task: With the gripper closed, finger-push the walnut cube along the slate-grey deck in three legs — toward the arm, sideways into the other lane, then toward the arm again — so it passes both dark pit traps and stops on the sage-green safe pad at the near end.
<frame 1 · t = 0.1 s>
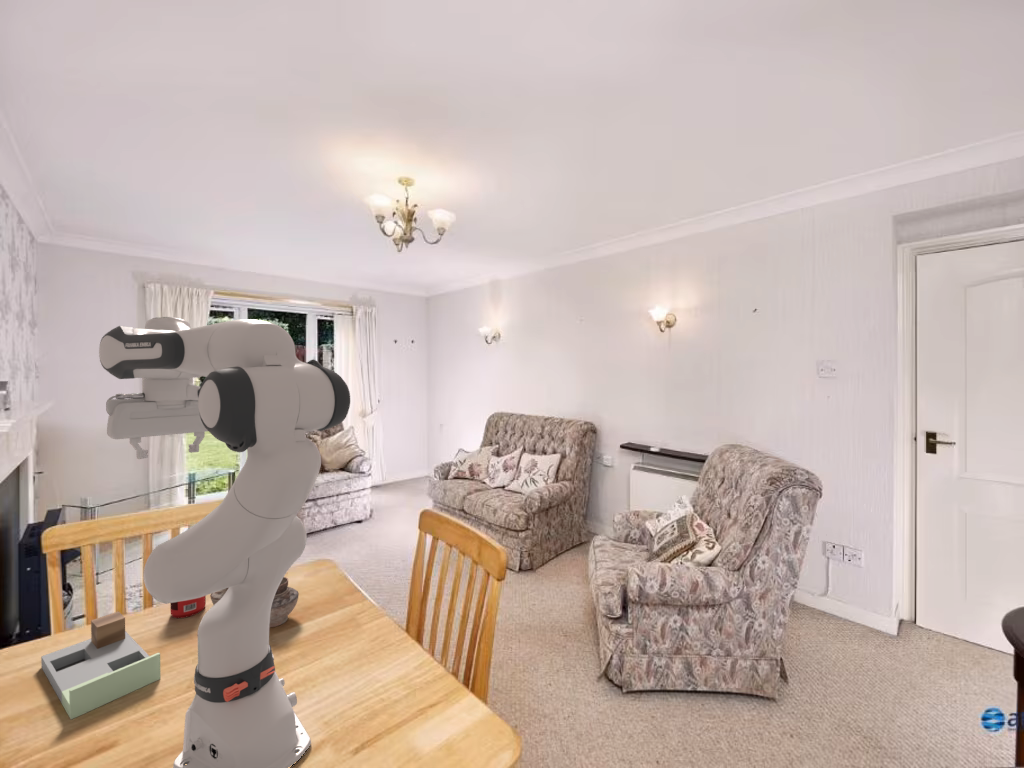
hand: (169, 455, 98), 48 cm above the table, fingers open, 8 cm apart
walnut block: (108, 639, 106), point 2 cm above the table, touching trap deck
pottery: (254, 618, 121), on the table
canned food: (188, 611, 124), on the table
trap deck: (99, 673, 98), on the table
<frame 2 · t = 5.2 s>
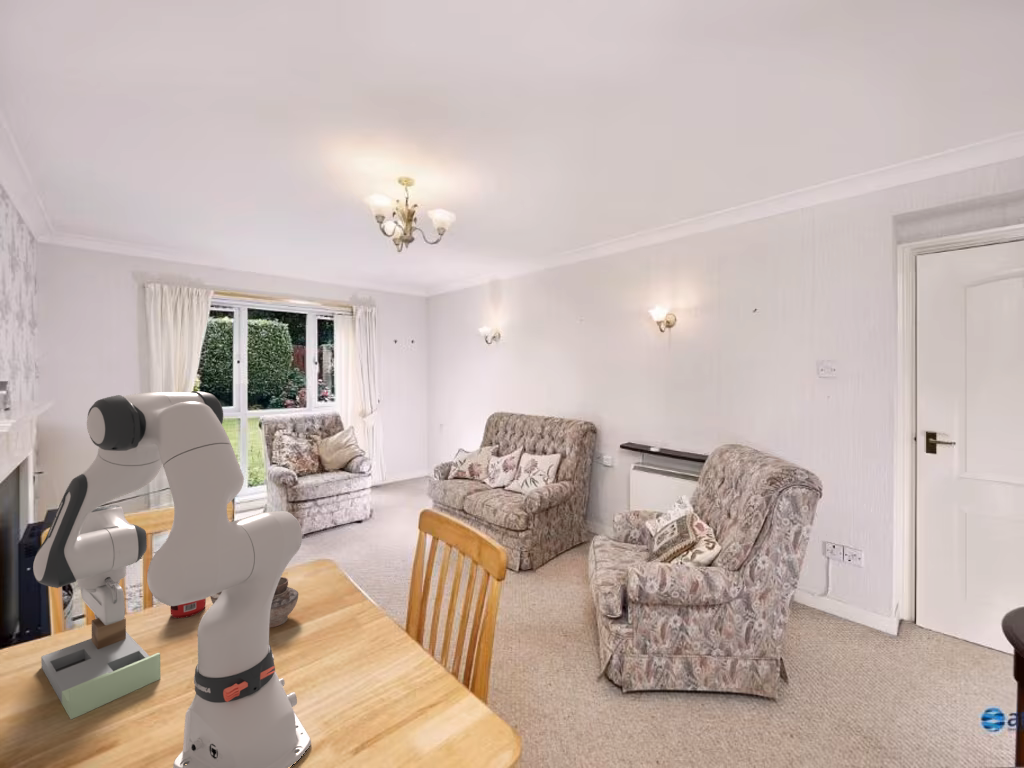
hand: (103, 628, 109), 4 cm above the table, fingers closed
walnut block: (108, 639, 106), point 3 cm above the table, touching gripper
everything else where it was.
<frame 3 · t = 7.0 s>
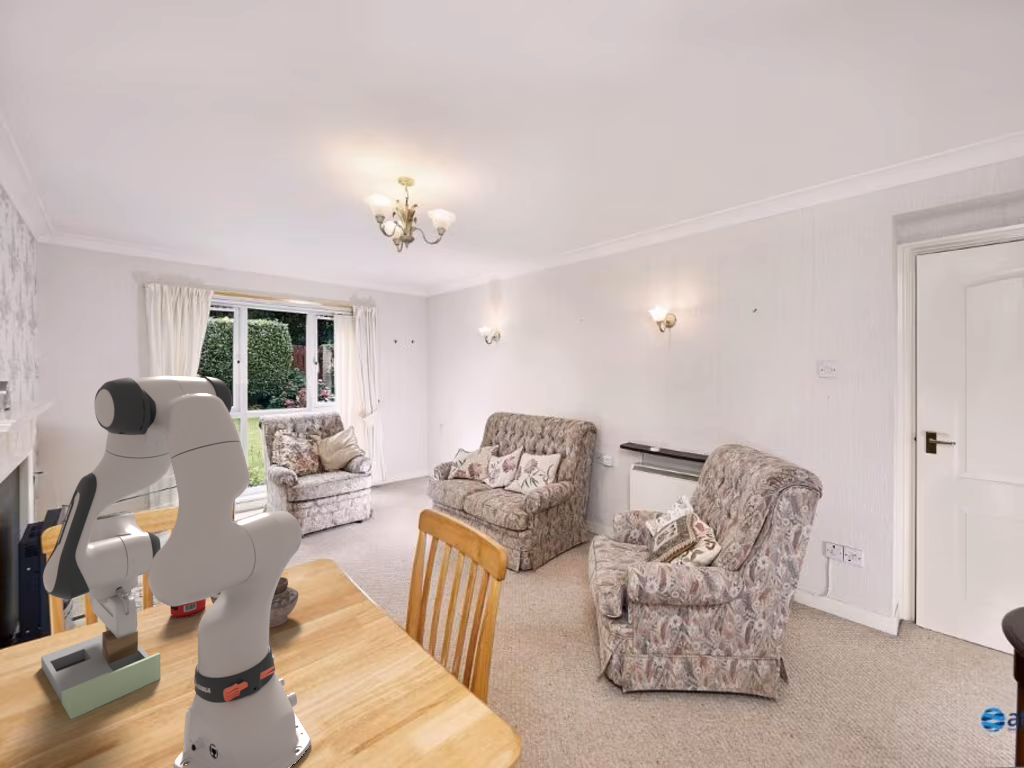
hand: (113, 641, 104), 4 cm above the table, fingers closed
walnut block: (120, 653, 101), point 3 cm above the table, touching gripper, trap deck
everything else where it was.
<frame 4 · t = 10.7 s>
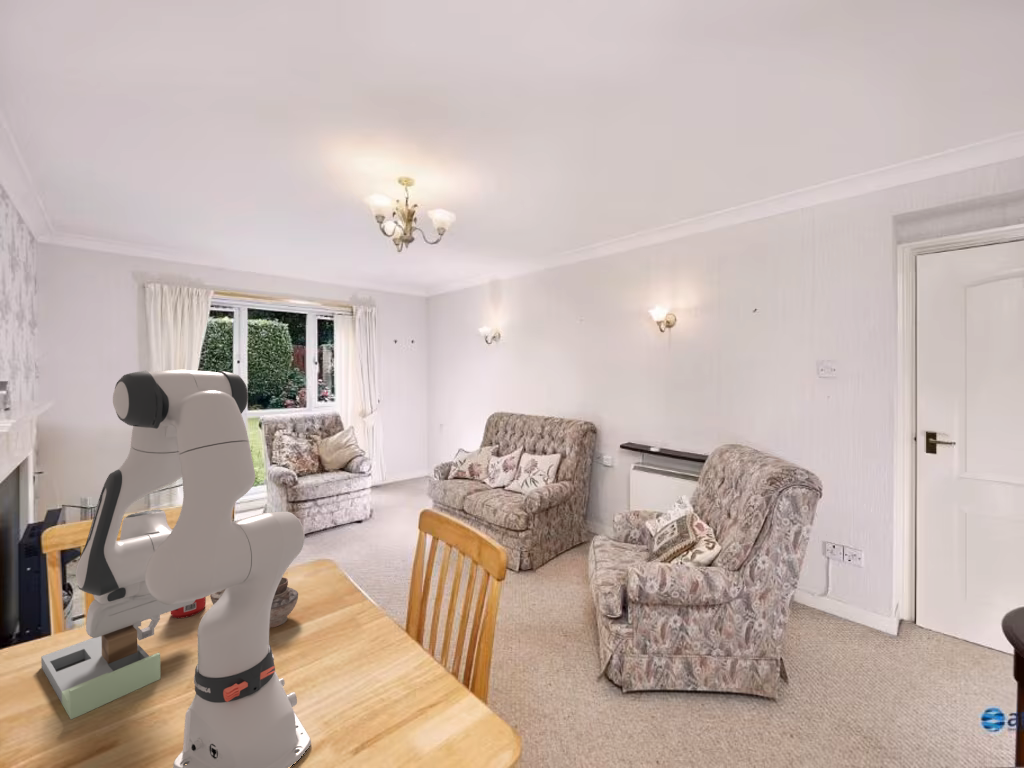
hand: (145, 636, 105), 4 cm above the table, fingers closed
walnut block: (119, 653, 101), point 3 cm above the table, touching gripper
everything else where it was.
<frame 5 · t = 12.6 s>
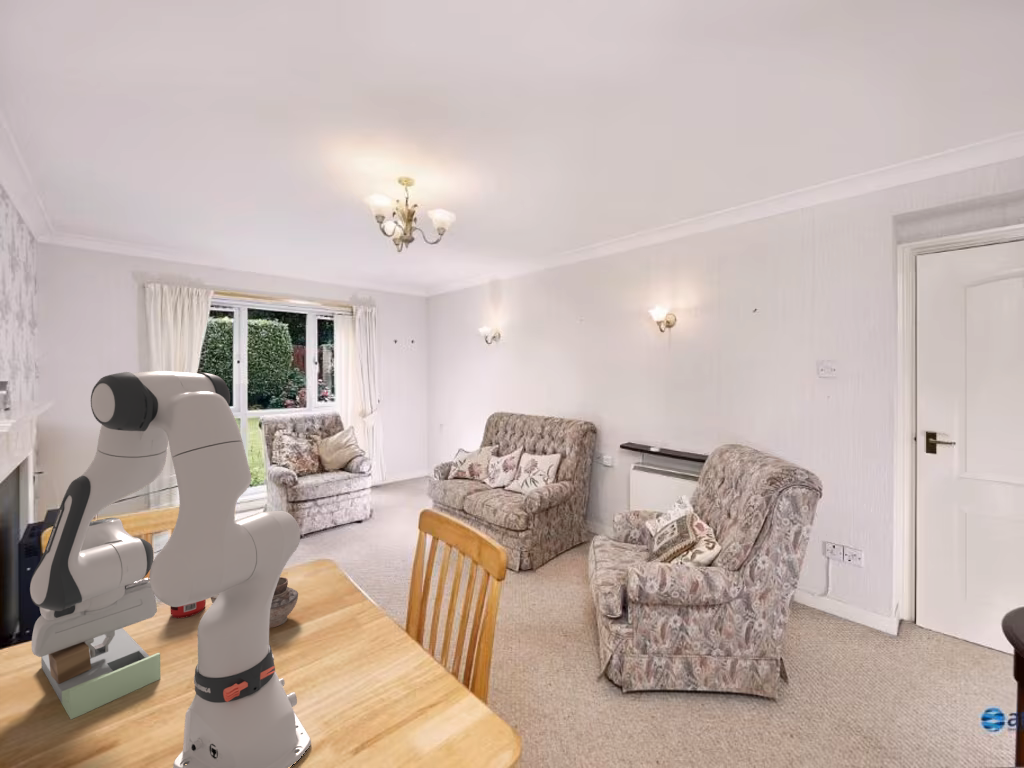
hand: (99, 654, 99), 4 cm above the table, fingers closed
walnut block: (71, 672, 94), point 3 cm above the table, touching gripper, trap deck
everything else where it was.
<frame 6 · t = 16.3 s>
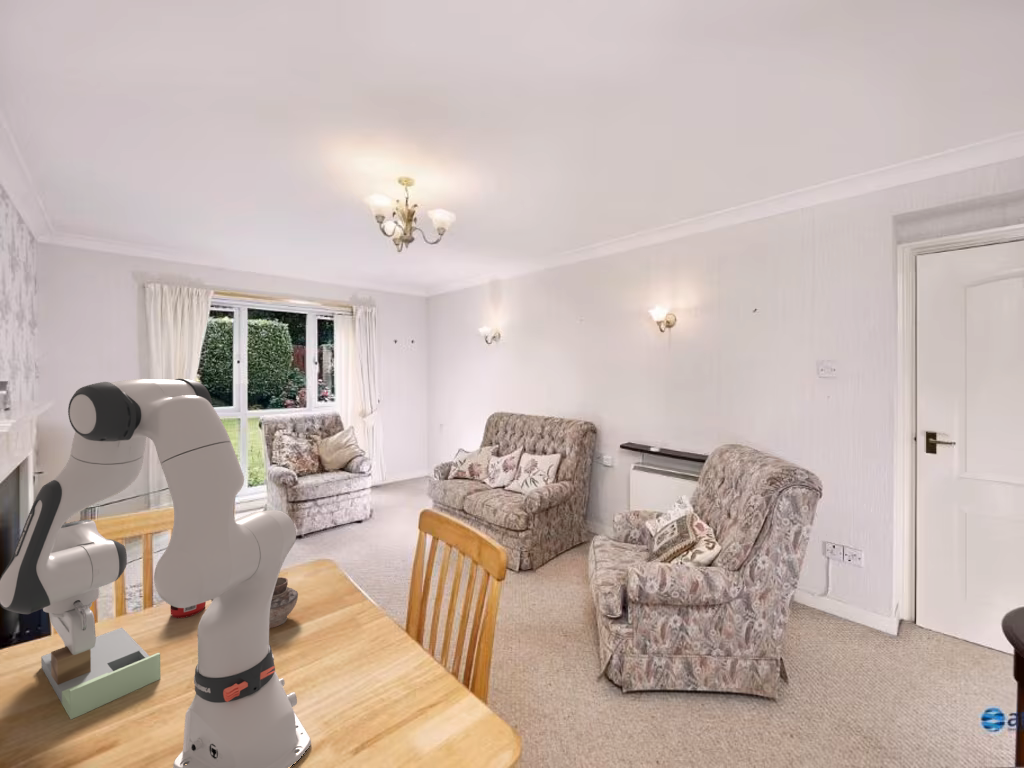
hand: (73, 657, 98), 3 cm above the table, fingers closed
nothing on the table moved.
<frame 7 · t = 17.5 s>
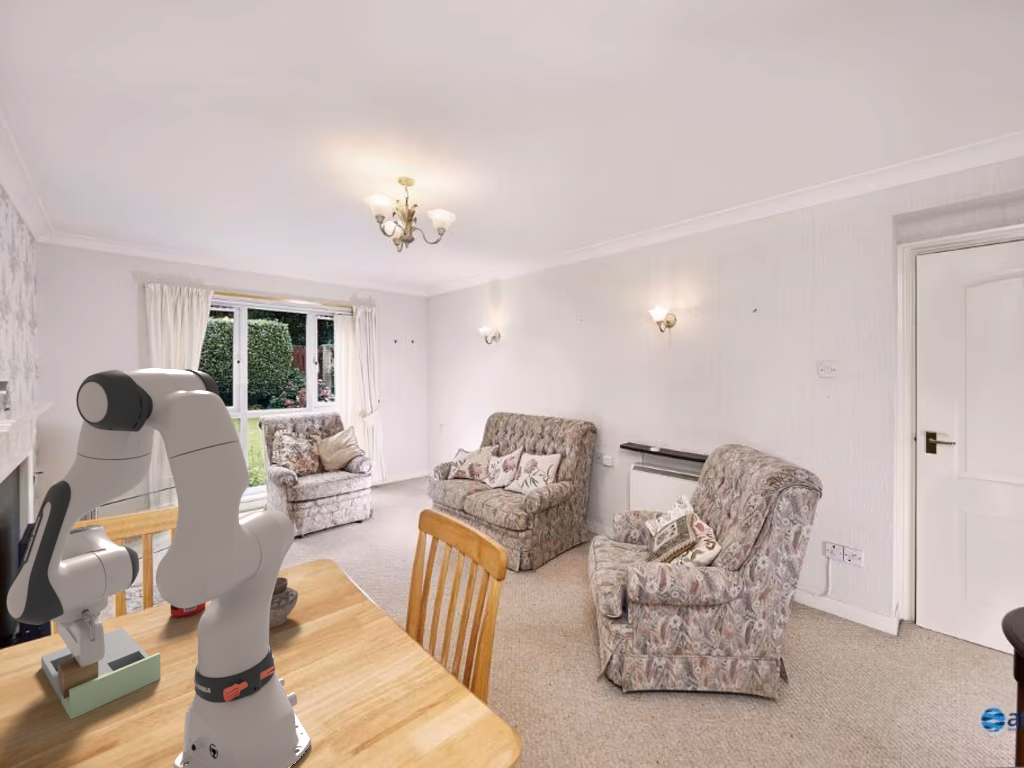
hand: (80, 668, 94), 4 cm above the table, fingers closed
walnut block: (78, 685, 90), point 3 cm above the table, touching gripper, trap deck
everything else where it was.
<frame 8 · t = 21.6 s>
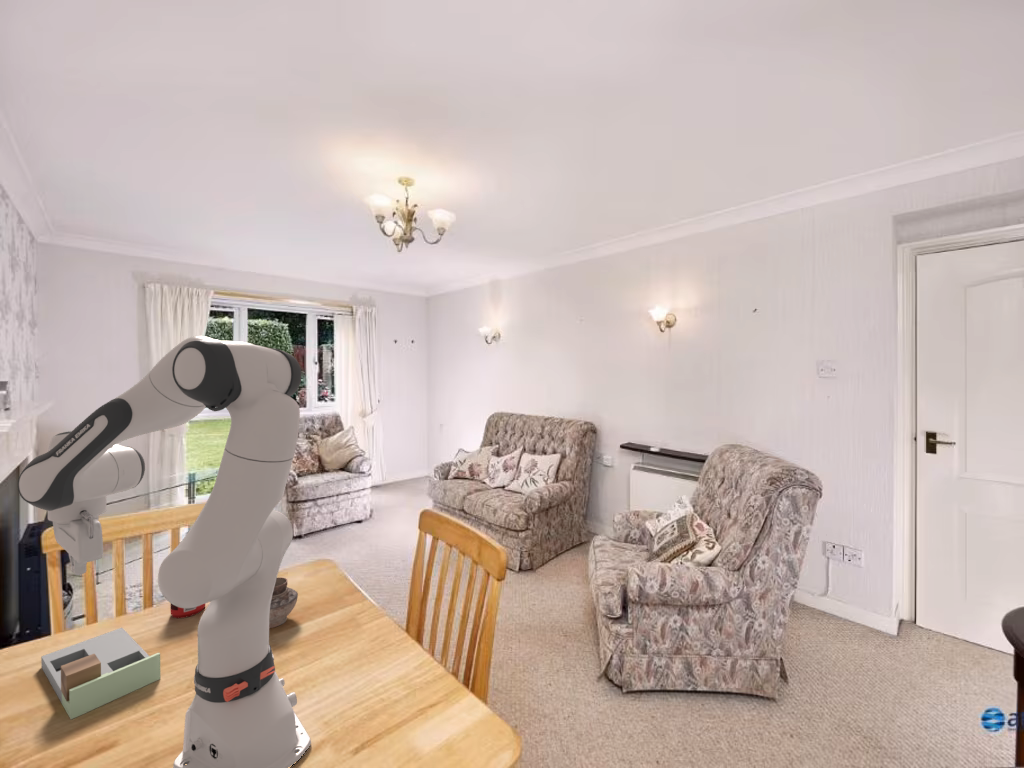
hand: (78, 572, 93), 24 cm above the table, fingers closed
walnut block: (81, 688, 90), point 2 cm above the table, touching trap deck
everything else where it was.
at the end: walnut block 1.2 cm from the target spot on the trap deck, point 2.5 cm above the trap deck's base; walnut block tilted 0° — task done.
